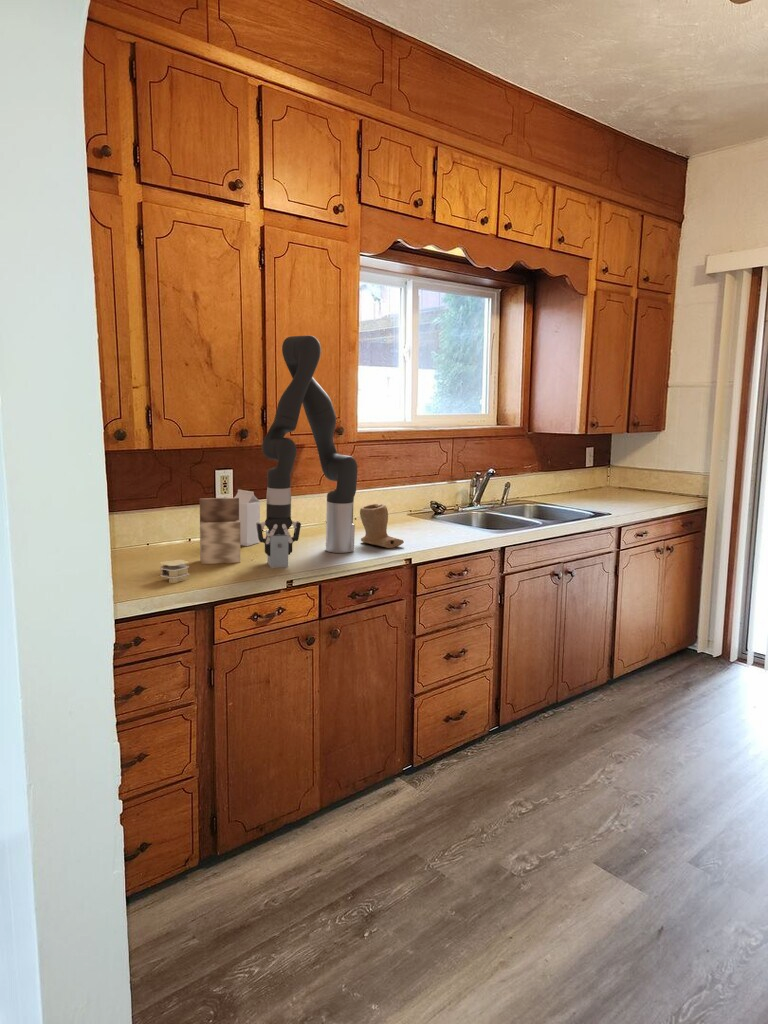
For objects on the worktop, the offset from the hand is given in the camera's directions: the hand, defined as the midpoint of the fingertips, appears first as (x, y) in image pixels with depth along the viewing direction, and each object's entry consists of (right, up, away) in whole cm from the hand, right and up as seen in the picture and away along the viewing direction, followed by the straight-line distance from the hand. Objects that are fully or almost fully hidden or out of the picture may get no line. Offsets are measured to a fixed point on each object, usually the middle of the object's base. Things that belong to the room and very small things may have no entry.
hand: (278, 554), depth 213 cm
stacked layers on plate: (-27, -7, -19) cm, 33 cm away
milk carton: (-16, +2, +29) cm, 33 cm away
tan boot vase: (+31, +1, +33) cm, 45 cm away
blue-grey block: (-1, -3, +3) cm, 4 cm away
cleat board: (-19, -2, +3) cm, 19 cm away
